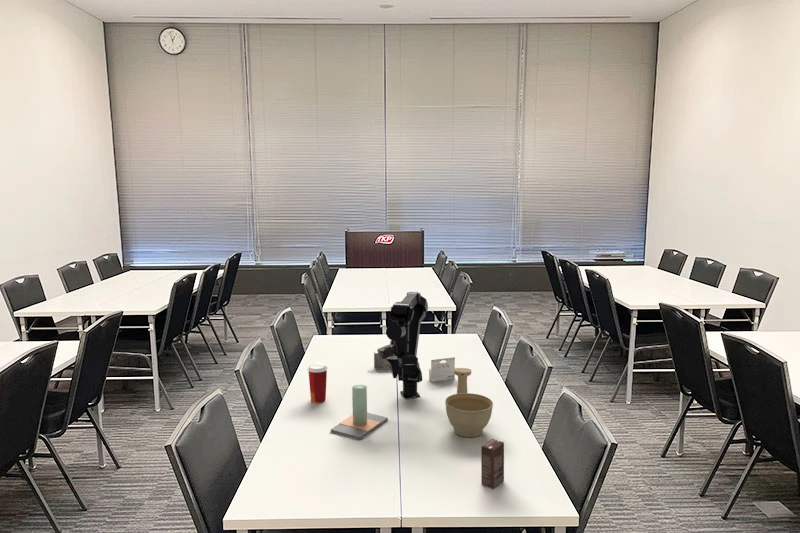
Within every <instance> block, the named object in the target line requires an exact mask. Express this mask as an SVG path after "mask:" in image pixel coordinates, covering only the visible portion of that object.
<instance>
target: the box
mask: <svg viewBox="0 0 800 533" xmlns="http://www.w3.org/2000/svg"><path fill="white" fill-rule="evenodd" d="M480 446H481V447H480V448H481V453H480V454H481V457H480V460H481V468H480V469H481V470H480V471H481V475H480V476H481V478H480V480H481V481H480V482H481V485H482V486H485V487H486V488H489V489H492V490H494V489H495V488H497V487H498V486H500V485H501V484H502V483H503V482H504V481H505V442H504V441H501V440H498V439H494V438H491V439H489V440H488V441H487V442H485V443H484V444H482V445H480Z"/></svg>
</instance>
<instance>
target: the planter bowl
mask: <svg viewBox="0 0 800 533" xmlns="http://www.w3.org/2000/svg"><path fill="white" fill-rule="evenodd" d="M444 404H445V412H446V416H447V419H448V421H449V423H450V424H451V426H452V428H453V430H454V433H455V434H456V435H458V436H461V437H465V438H474V437H475V438H476V437H478V436H480V435H482V433H483V430H484V429H485V428H486V427H487V425H488V423H489V422H490V419H491V417H492V413H493V407H494V403H493V400H492V399H491V398H489V397H488V396H485V395H482V394H478V393H471V392H467V393H459V394H457V393H454V394H451V395H449V396H447V397H446V398H445V401H444Z"/></svg>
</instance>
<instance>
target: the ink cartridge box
mask: <svg viewBox="0 0 800 533" xmlns="http://www.w3.org/2000/svg"><path fill="white" fill-rule="evenodd" d="M442 361H446V362H442ZM430 362H431V363H430V368H429V369H428V380H429V382H439V381H450V380H455V379H456V375H455V374H454V369H455V368H456V367H455V364H456V357H447V358H439V359H438V358H436V359H431V360H430Z"/></svg>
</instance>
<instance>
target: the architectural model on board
mask: <svg viewBox="0 0 800 533" xmlns="http://www.w3.org/2000/svg"><path fill="white" fill-rule="evenodd" d="M373 368H374V370H382V369H385V370H386V369H388V370H389V369H391V367H390V364H389V362H388V361H387V360H385V359H382V358H380V357H379V354H378V352H375V351H374V352H373Z"/></svg>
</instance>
